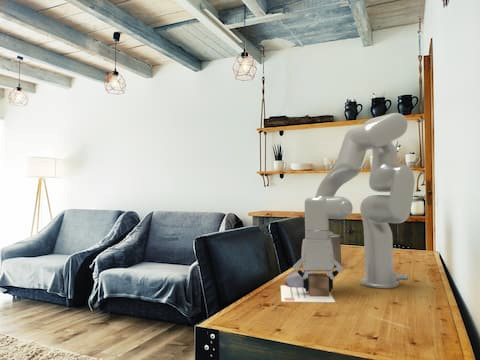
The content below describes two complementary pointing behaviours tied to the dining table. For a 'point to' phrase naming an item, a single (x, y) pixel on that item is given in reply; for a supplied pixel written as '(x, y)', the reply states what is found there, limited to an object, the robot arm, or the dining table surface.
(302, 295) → the letter
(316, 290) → the walnut cube
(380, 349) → the dining table surface
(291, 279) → the stone block
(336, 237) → the pillar candle
